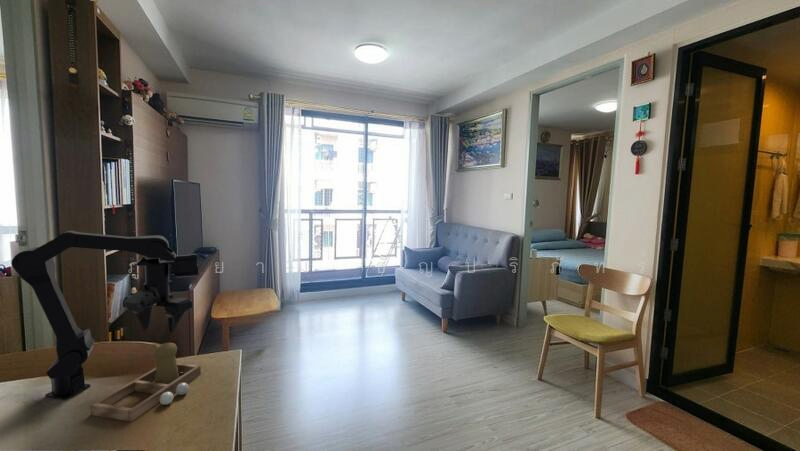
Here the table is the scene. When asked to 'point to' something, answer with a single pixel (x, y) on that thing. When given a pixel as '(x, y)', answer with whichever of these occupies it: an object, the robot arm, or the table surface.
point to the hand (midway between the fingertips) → (158, 331)
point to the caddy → (141, 385)
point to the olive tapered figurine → (166, 363)
